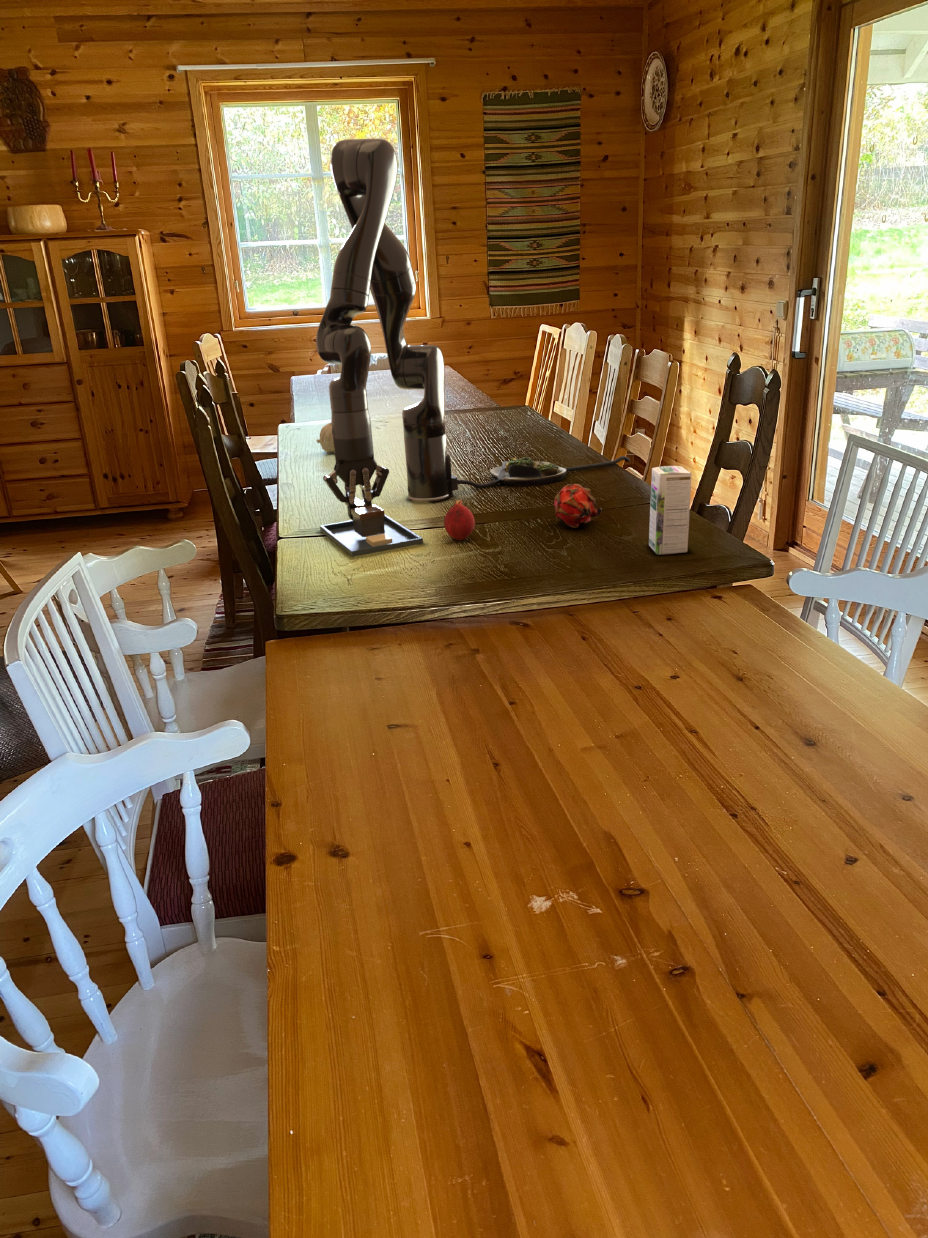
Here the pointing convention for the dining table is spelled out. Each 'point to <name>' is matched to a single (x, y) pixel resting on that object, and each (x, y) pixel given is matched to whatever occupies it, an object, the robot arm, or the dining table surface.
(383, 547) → the tray
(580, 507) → the dragon fruit
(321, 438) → the garlic bulb
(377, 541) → the tan flat square block
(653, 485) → the syrup box
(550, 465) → the salad plate
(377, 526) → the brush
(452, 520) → the onion
